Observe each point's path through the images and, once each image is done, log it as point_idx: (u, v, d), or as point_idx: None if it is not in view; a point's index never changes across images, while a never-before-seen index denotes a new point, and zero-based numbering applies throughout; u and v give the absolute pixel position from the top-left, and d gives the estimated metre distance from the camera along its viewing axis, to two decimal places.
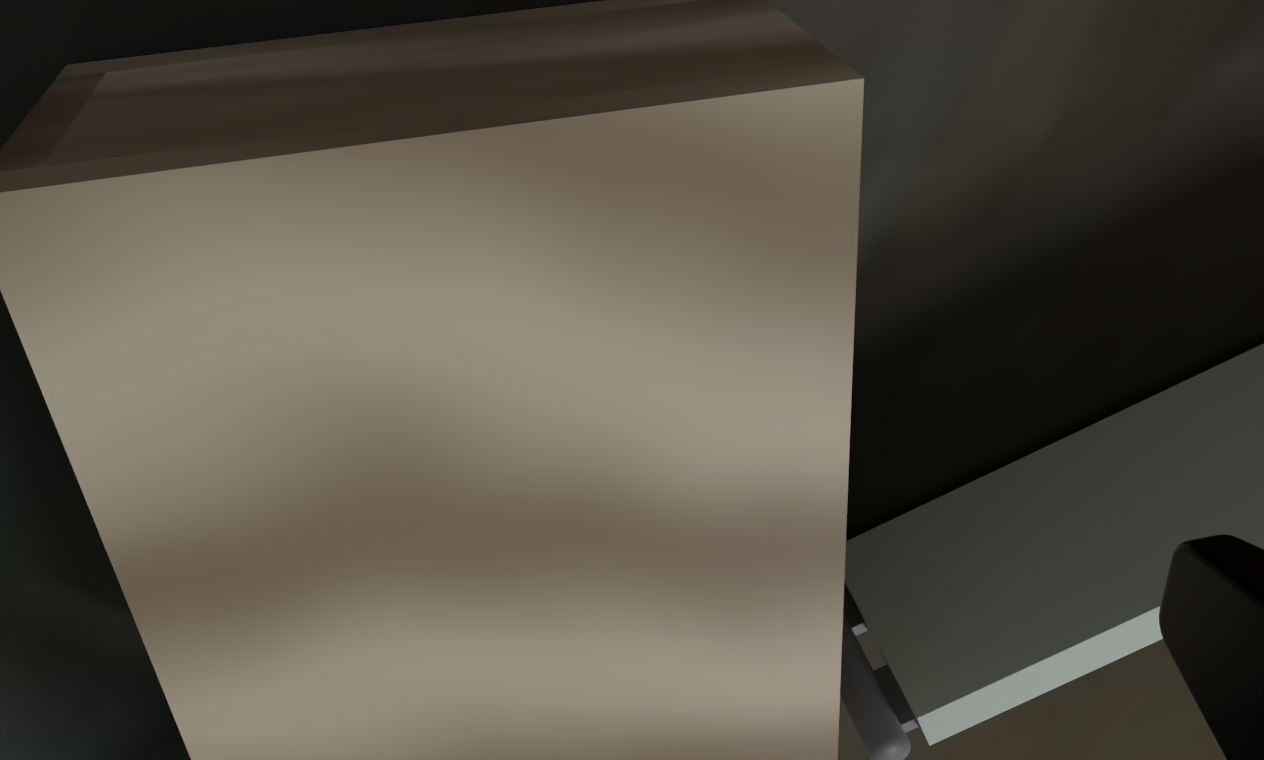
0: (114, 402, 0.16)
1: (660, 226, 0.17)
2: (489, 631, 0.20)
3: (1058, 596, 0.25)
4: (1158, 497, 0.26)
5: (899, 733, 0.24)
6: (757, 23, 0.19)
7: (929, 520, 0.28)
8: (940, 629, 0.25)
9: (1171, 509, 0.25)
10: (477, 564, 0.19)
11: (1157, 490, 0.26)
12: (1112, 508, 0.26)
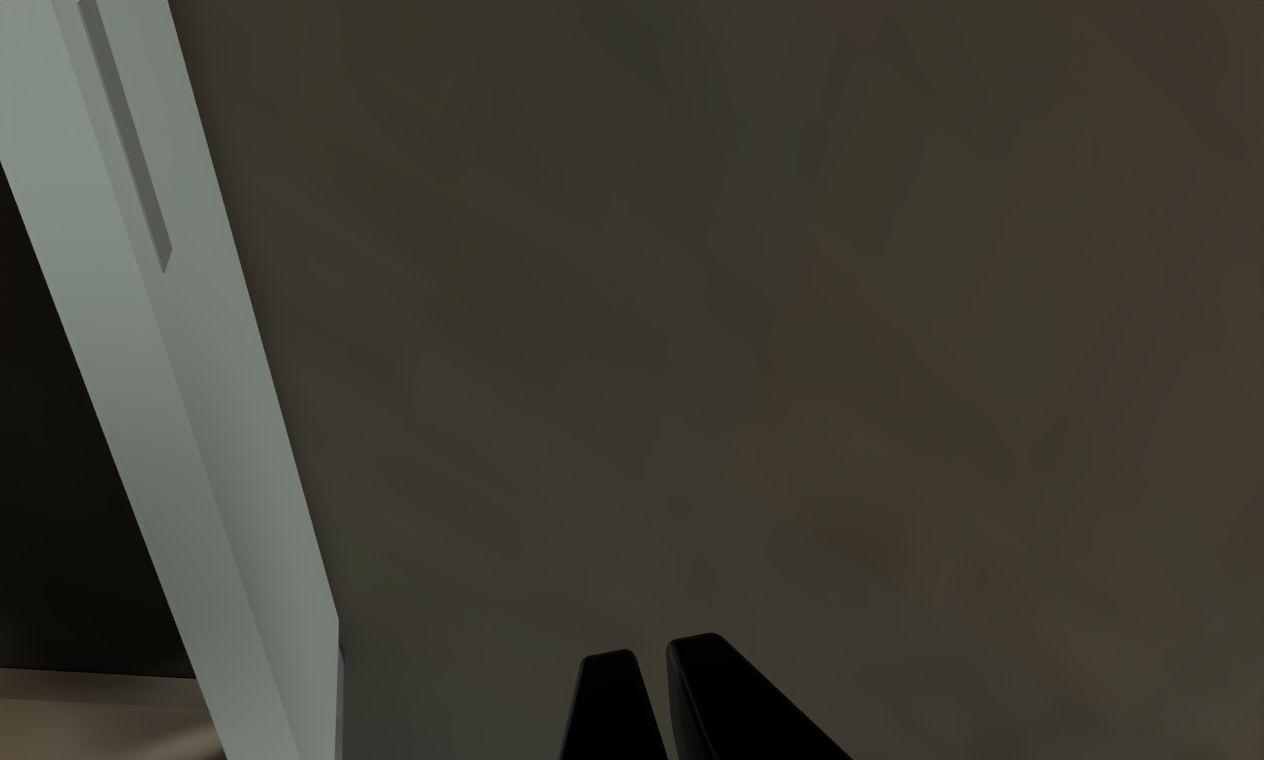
0: None
1: None
2: None
3: None
4: None
5: None
6: None
7: None
8: None
9: None
10: None
11: None
12: None
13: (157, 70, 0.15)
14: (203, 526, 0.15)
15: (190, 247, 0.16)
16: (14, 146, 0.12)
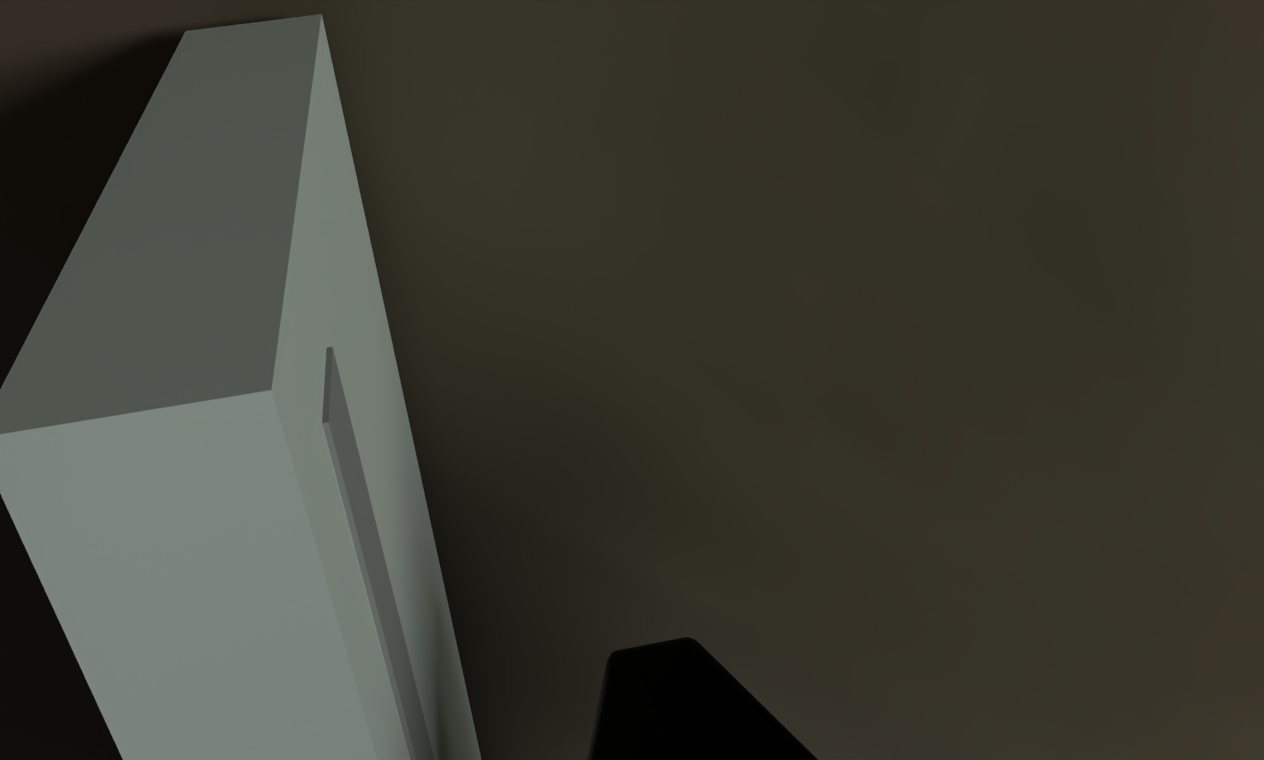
0: None
1: None
2: None
3: None
4: None
5: None
6: None
7: None
8: None
9: None
10: None
11: None
12: None
13: (379, 387, 0.08)
14: None
15: (437, 704, 0.09)
16: None
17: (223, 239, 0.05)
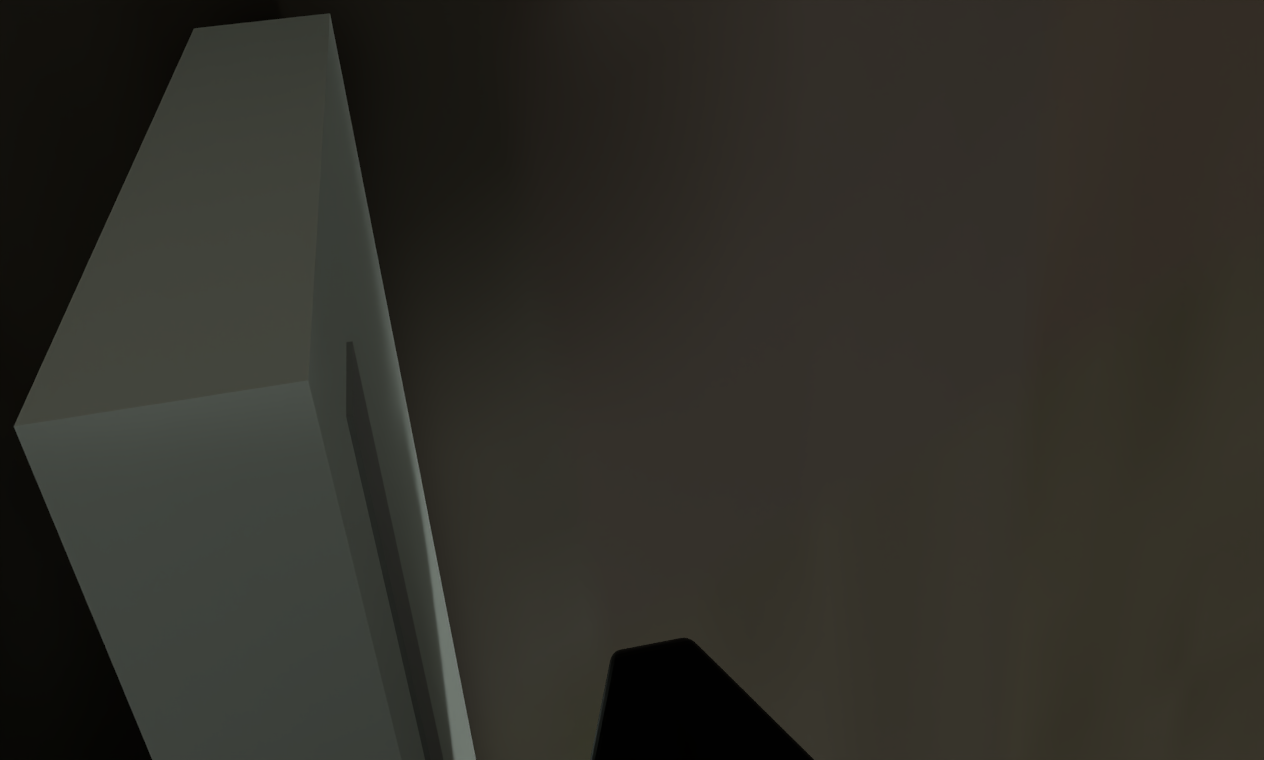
0: None
1: None
2: None
3: None
4: None
5: None
6: None
7: None
8: None
9: None
10: None
11: None
12: None
13: (386, 385, 0.08)
14: None
15: (441, 701, 0.09)
16: None
17: (248, 231, 0.05)
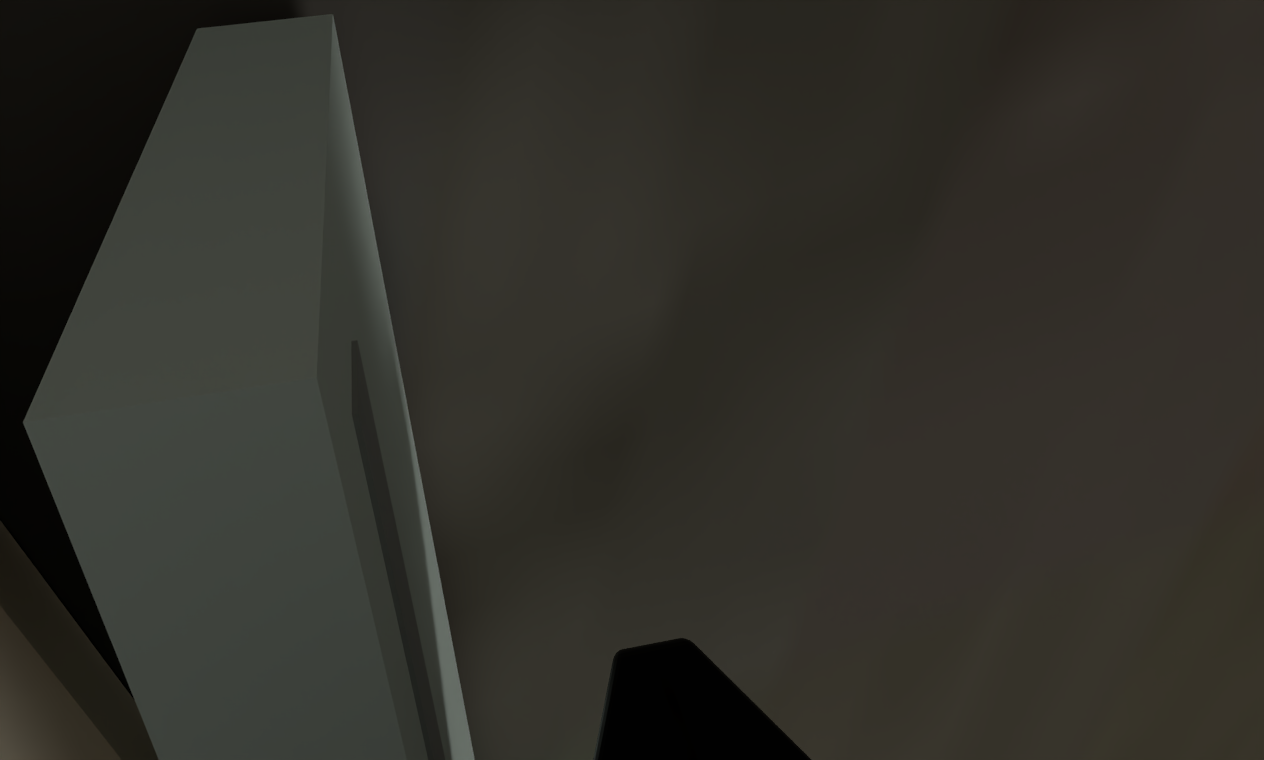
0: None
1: None
2: None
3: None
4: None
5: None
6: None
7: None
8: None
9: None
10: None
11: None
12: None
13: (388, 385, 0.08)
14: None
15: (442, 701, 0.09)
16: None
17: (255, 231, 0.05)
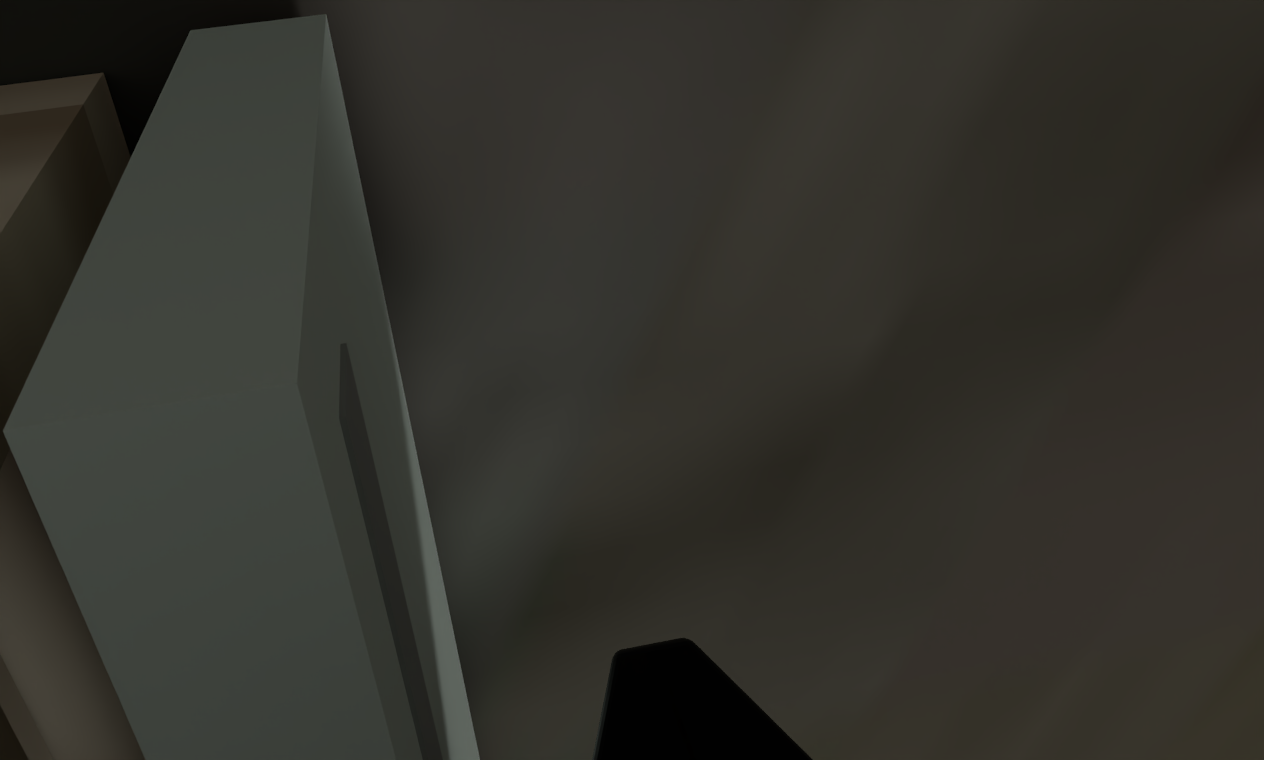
0: None
1: None
2: None
3: None
4: None
5: None
6: None
7: None
8: None
9: None
10: None
11: None
12: None
13: (384, 385, 0.08)
14: None
15: (441, 701, 0.09)
16: None
17: (241, 235, 0.05)
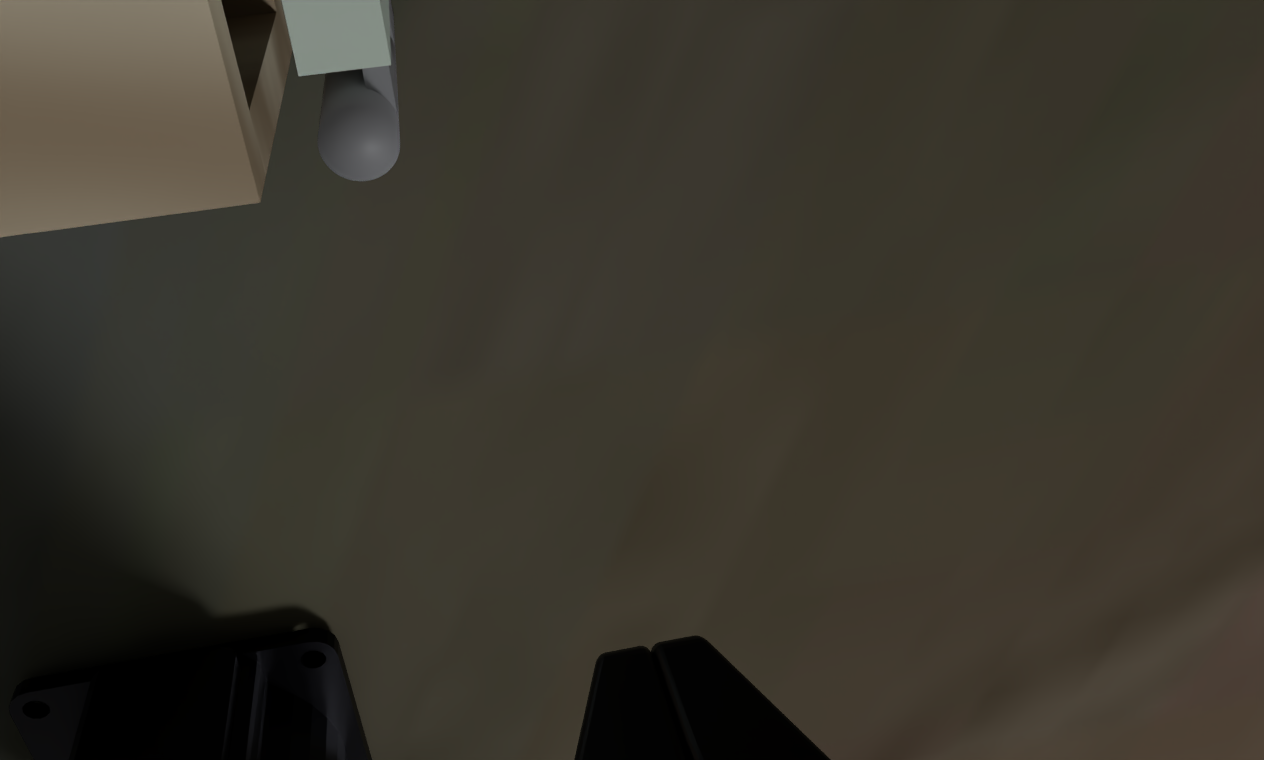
0: None
1: None
2: None
3: None
4: None
5: (326, 115, 0.13)
6: None
7: None
8: None
9: None
10: None
11: None
12: None
13: None
14: None
15: None
16: None
17: None
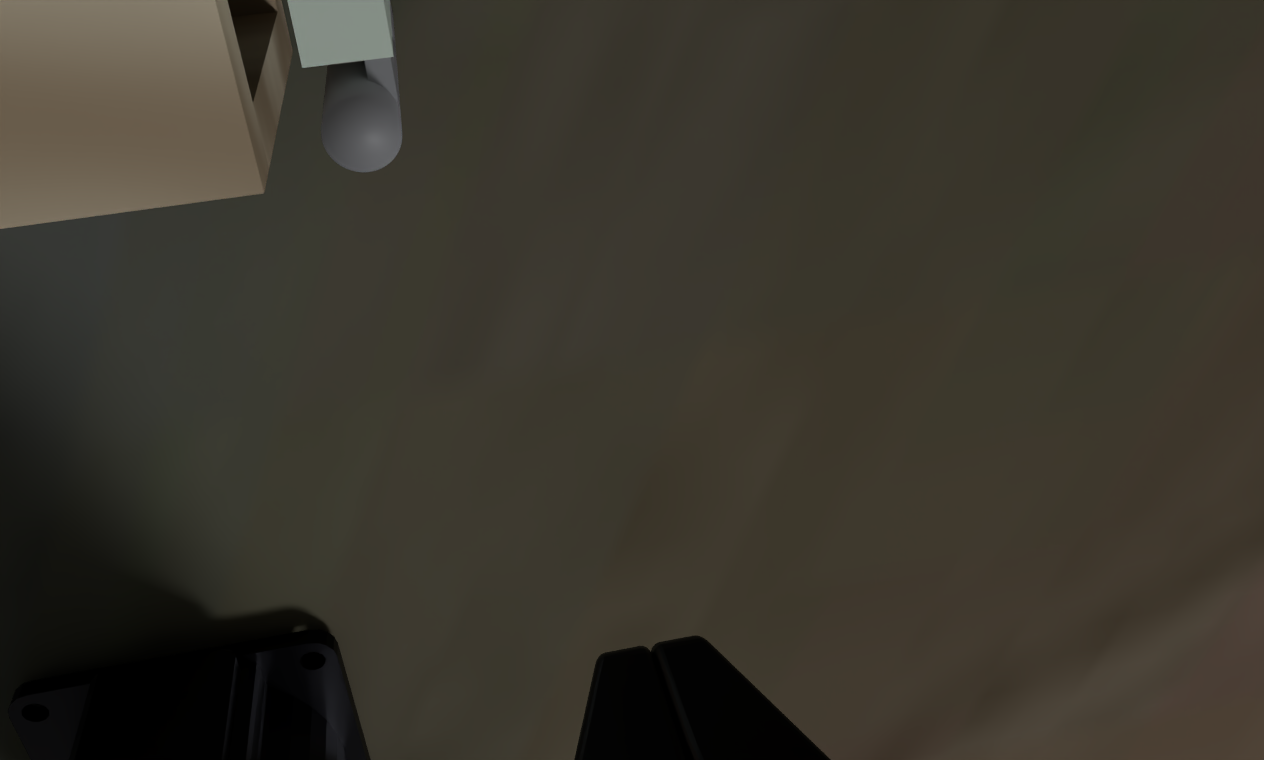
0: None
1: None
2: None
3: None
4: None
5: (329, 106, 0.13)
6: None
7: None
8: None
9: None
10: None
11: None
12: None
13: None
14: None
15: None
16: None
17: None
